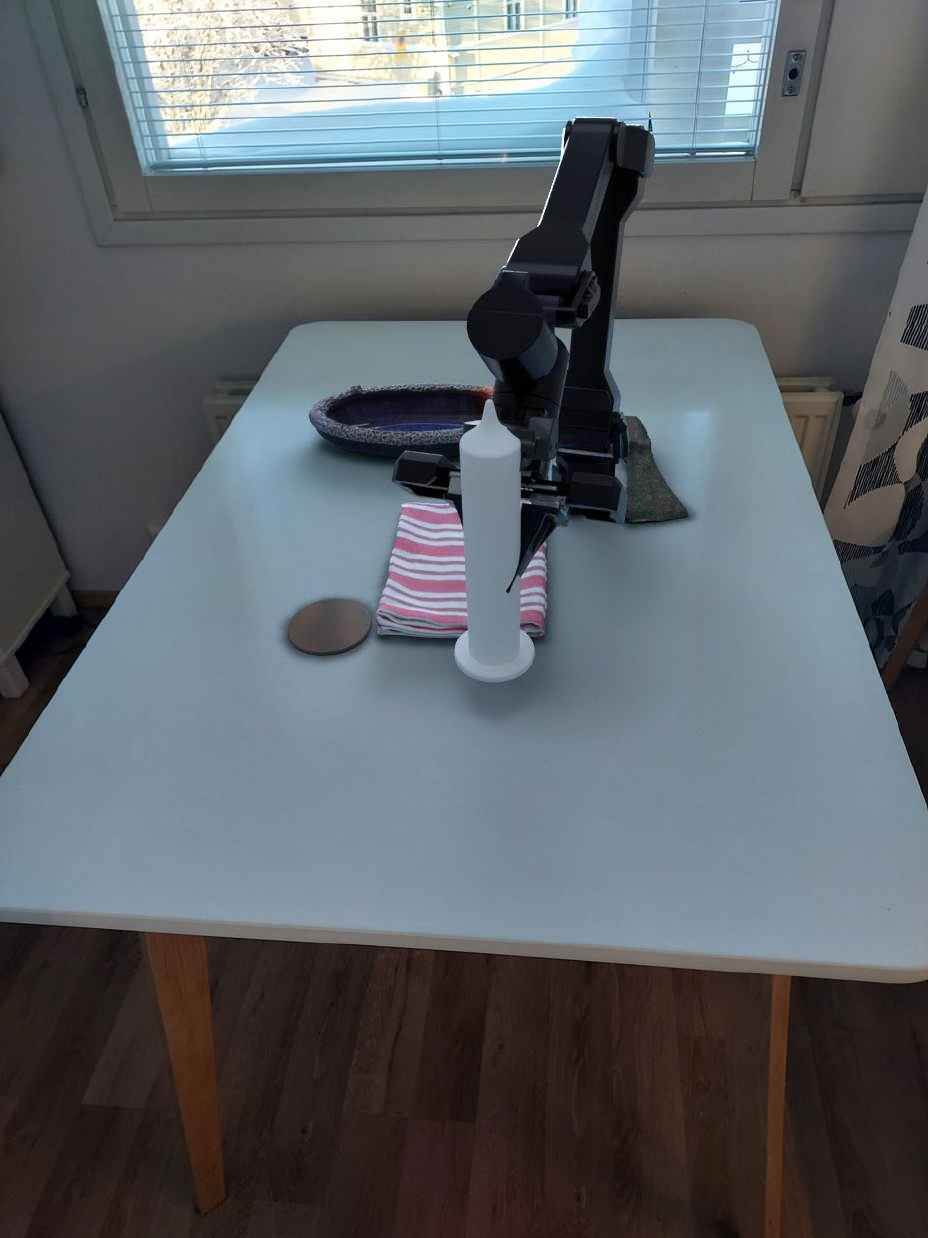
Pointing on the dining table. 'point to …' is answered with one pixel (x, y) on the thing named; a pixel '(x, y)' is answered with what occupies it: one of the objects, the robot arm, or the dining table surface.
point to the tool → (647, 481)
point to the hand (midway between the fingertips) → (491, 590)
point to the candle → (492, 553)
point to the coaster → (329, 626)
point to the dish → (400, 417)
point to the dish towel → (444, 578)
